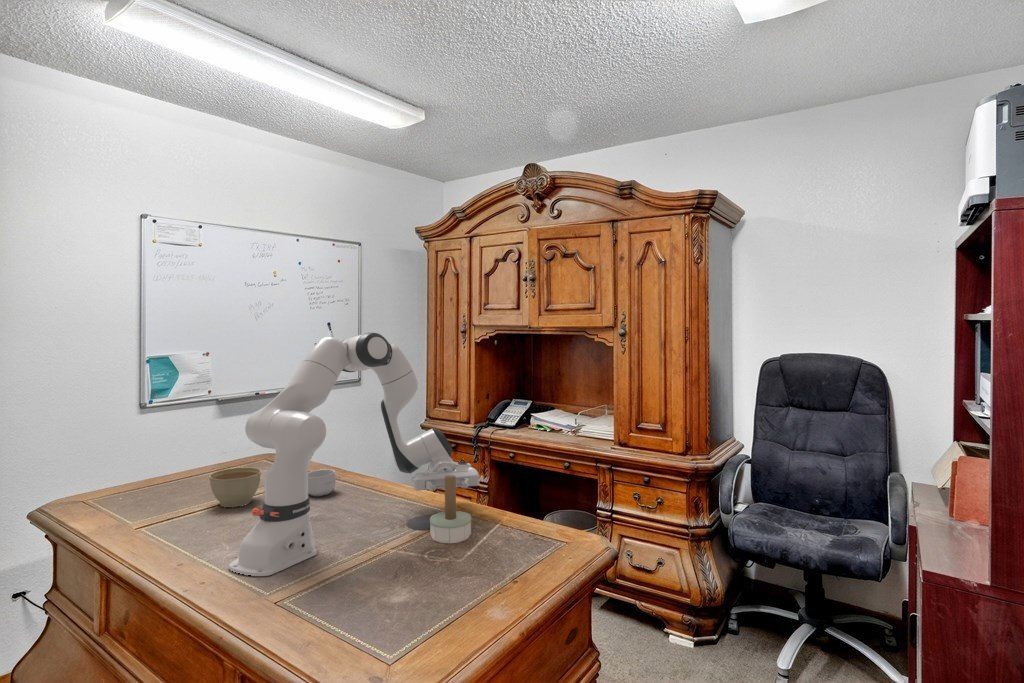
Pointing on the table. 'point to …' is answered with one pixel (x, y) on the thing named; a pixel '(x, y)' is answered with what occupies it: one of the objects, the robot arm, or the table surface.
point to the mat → (419, 523)
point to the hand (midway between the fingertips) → (449, 487)
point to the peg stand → (450, 509)
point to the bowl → (450, 534)
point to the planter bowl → (235, 485)
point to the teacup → (321, 482)
